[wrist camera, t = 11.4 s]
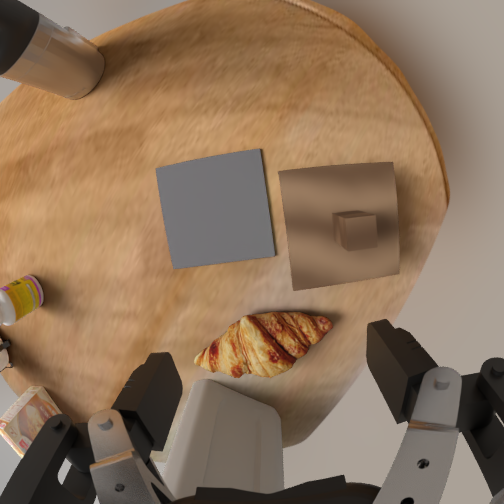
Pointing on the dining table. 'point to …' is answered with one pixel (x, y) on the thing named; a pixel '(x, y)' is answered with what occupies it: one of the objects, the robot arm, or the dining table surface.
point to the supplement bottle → (19, 299)
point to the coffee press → (4, 354)
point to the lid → (341, 223)
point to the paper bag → (225, 444)
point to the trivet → (216, 209)
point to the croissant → (263, 344)
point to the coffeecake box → (27, 418)
